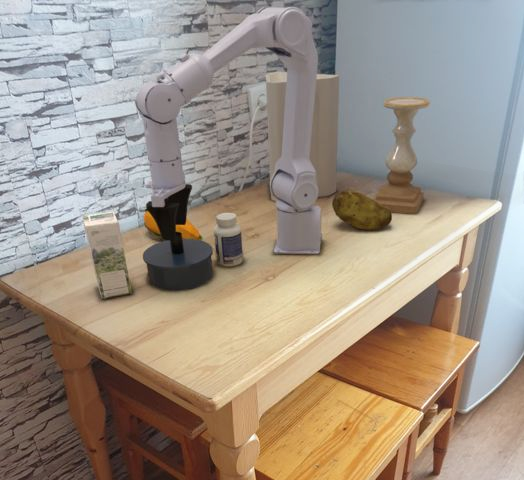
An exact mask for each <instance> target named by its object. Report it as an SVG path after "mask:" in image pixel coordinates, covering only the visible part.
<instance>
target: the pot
mask: <svg viewBox="0 0 524 480" xmlns="http://www.w3.org/2000/svg"><path fill="white" fill-rule="evenodd" d="M146 269H147V275H148V281H149V283H150V284H151V285H152V286H153V287H155V288H157V289H160V290H164V291H184V290H185V291H186V290H190V289H195V288H197V287H200V286H202V285H204V284H206V283H207V282H209V281H210V279H211V278H212V277H213V273H214V268H213V259H212V256H211V257H210V258H209V259H208V260H206V261H204V262H203V263H200V264H198V265H195V266H192V267H187V268H181V269H160V268H155V267H152V266H149V265H147V264H146Z"/></svg>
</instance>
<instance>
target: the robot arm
mask: <svg viewBox="0 0 524 480" xmlns="http://www.w3.org/2000/svg"><path fill="white" fill-rule="evenodd" d="M253 48H256V49H257V48H263V49H266V50H268V51H269V52H271V53H273V54H275V56H276V57H277V58H278V59H279V60H280V61H281V62H282V64H284V66H285V68H286V72H287V81H286V96H285V112H284V127H283V143H282V156H281V158H280V159H279V160H278V161H277V162H276V163H275V171H274V174H273V176H272V178H271V181H270V180H269V191H270V194H271V193H272V195H273V196H274V197H276V201H275V205H276V207H275V208H276V209H275V210H276V211H275V212H276V236H277V237H276V238H277V239H276V243H275V246H274V249H273V254H275V255H277V254H282V255H319V254H320V251H321V245H322V242H323V232H322V206H321V205H320V206H319V205H315V204H316V202H317V199H318V198H319V197H318V187H317V184H316V171H315V169H314V167H313V165H312V163H311V161H310V159H309V156H310V144H311V133H312V122H313V111H314V100H315V88H316V77H317V74H318V64H319V55H318V51H317V48H316V45H315V41H314V37H313V22H312V21H311V19H310V18H309V17H308V16H307V15H306V14H305V12H304V11H303V10H302V9H300V8H299V7H296V6H288V7H274V6H271V5H270V6H269V5H266V6H263V7H261V8H260V9H258V10H257V12H254V13H252V14H250V15H248V16H247V17H246V18H244V20H243V21H241V22H240V23H239V24H238V25H237V26H236V27H234V28H233V29H232V30H231V31H229V32H228V33H227V34H226V35H225V36H223V37H222V38H221V39H220V40H218V41H217V42H216V43H215V44H214V45H212V46H211V47H210V48H208V49H207V50H206V51H205V52H203V54H199V53H195V52H190V53H189V54H188V53H182V54H180V55H179V56H178V58H177V59H178V62H177V63H175V64H173V66H171V67H170V68H169V69H167V70H166V71H164V72H161V71H160V72H158V73H157V74H155V77H156V81H154V80H153V81H147V82H145V83H143V84H142V85H141V86H140V87H139V88H138V92H137V93H136V97H135V99H136V100H134V105H135V107H136V110H137V111H138V112H139V113H140V115H142V116H141V117H142V124H143V130H144V131H143V133H144V139H145V146H146V147H145V148H146V153H147V159H148V166H149V173H150V179H151V180H150V181H148V182H146V183H145V187H146V189H150V190H151V196H150V199H151V200H149V201H148V202H147V203H146V204H145V209H146V208H147V211H148V212H149V213H150V214H151V215H152V217H153V218H154V220H155V222H156V224H157V226H158V228H159V231H160V233H161V236H162V238H163V239H162V240H163V241H165V240H175V236H176V225H185V224H186V219H187V218H188V217H187V214H188V204H189V200H190V196H191V193H192V190H193V185H192V184H190V183H186V177H185V171H184V167H183V161H182V153H181V152H182V151H181V145H180V136H179V129H178V122H177V121H178V120H177V117H178V116H179V114H180V112H181V107H184V106H185V105H187V104H188V103H190V102H191V101H192V100H193V99H195V98H196V97H197V96H198V95H200V94H201V93H202V92H204V91H205V90H207V89H208V88H209V87H210V86H212V84H213V80H214V76H215V73H217V72H218V71H219V70H221V69H222V68H224V67H226V66H227V65H228V64H230V63H231V62H233V61H234V60H236V59H237V58H240V56H242V55H244V54H245V53H246V52H248V51H249V50H251V49H253Z"/></svg>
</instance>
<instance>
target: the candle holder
mask: <svg viewBox="0 0 524 480" xmlns="http://www.w3.org/2000/svg"><path fill="white" fill-rule="evenodd" d="M382 102H383V107H384V108H386V109H390V110H393V113H394V115H395V117H396V124H395V126H394V128H393V129H392V130H391V131H392V133H393V136H394V138H395V143H394V144H393V146H392V148H391V150H390V151H389V152H388V154H387V156H386V158H385V166H386V168H387V169H388V170H389V172H388V173H387V175H386V180H387V182H388V183H386V184H383V185H382V186H381V187H380V189H379V190H378V191H377V193H376V195H375V197H374V198H373V199H372V200H374V201H377V202H379V203H381V204H383V205H385V206H386V207H388V208H389V209H390V210H391V213H399V214H410V215H416V214H417V213H418V211H419V210H420V208H421V205H423V202H424V196H425V195H424V194H425V193H424V192H423V191H421V190H422V189H421V187H419V186H414V185H413V184H412V183H411V182H412V181H413V179H414V176H413V173H412V170H414V169H415V168H416V167H417V164H418V157H417V155H416V152H415V150H414V148H413V146H412V142H411V140H412V137H414V134H415V133H416V129H415V126H414V123H413V122H414V118H415V116H416V115H417V114H418V112H419V110H420V109H421V110H422V109H426V108H428V107H429V106H430V104H431V100H430V99H428V98H426V97H418V96H398V97H391V98H386V99H384V101H382Z"/></svg>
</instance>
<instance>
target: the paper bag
mask: <svg viewBox="0 0 524 480" xmlns="http://www.w3.org/2000/svg"><path fill="white" fill-rule="evenodd" d="M286 81H287V71H285V72H284V71H274V72H271V73H266V74H265V88H266V91H265V92H266V117H267V139H268V141H267V142H268V145H267V146H268V168H269V169H268V170H269V171H268V172H269V182H270V181H271V178H272V176H273V174H274V171H275V163H276V162H277V161H278V160H279V159H280V158H281V156H282V143H283V127H284V112H285V96H286ZM339 94H340V74H323V73H317V77H316V88H315V100H314V111H313V122H312V133H311V144H310V156H309V159H310V161H311V163H312V165H313V167H314V169H315V171H316V184H317V187H318V197H317V198H323V197H328V196H331V195H332V194H334V193H337V177H338V176H337V173H338V171H337V170H338V138H339V137H338V136H339V135H338V133H339V100H340V99H339V98H340V97H339V96H340V95H339ZM270 200H271V201H274V202H276V197H274V196H273V195H272V193H271V192H270Z"/></svg>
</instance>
